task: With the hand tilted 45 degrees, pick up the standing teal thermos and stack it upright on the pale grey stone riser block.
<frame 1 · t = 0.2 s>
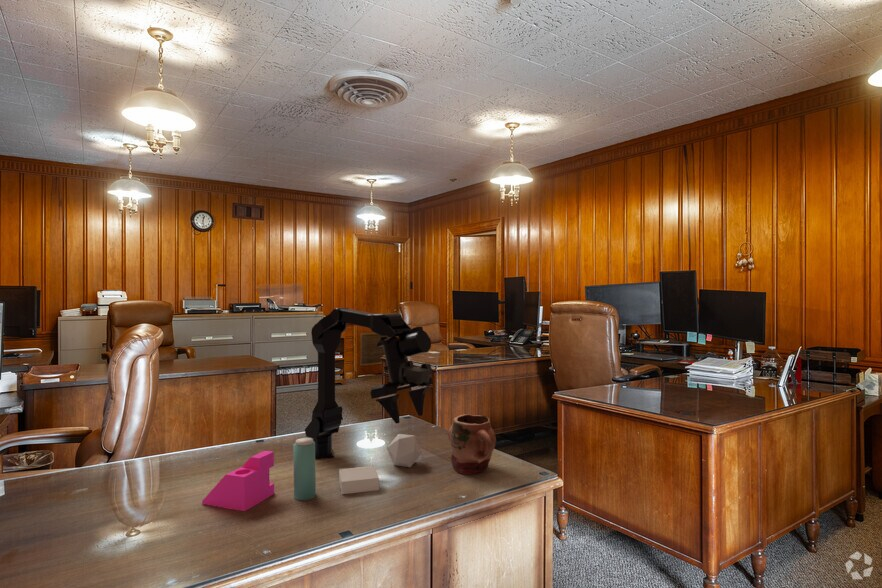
hand: (409, 419, 130), 15 cm above the table, tool pointing down, fingers open, 9 cm apart
die: (404, 465, 141), on the table
bracket: (239, 500, 119), on the table
riser: (358, 485, 126), on the table
thermos: (304, 496, 120), on the table
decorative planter: (473, 470, 136), on the table
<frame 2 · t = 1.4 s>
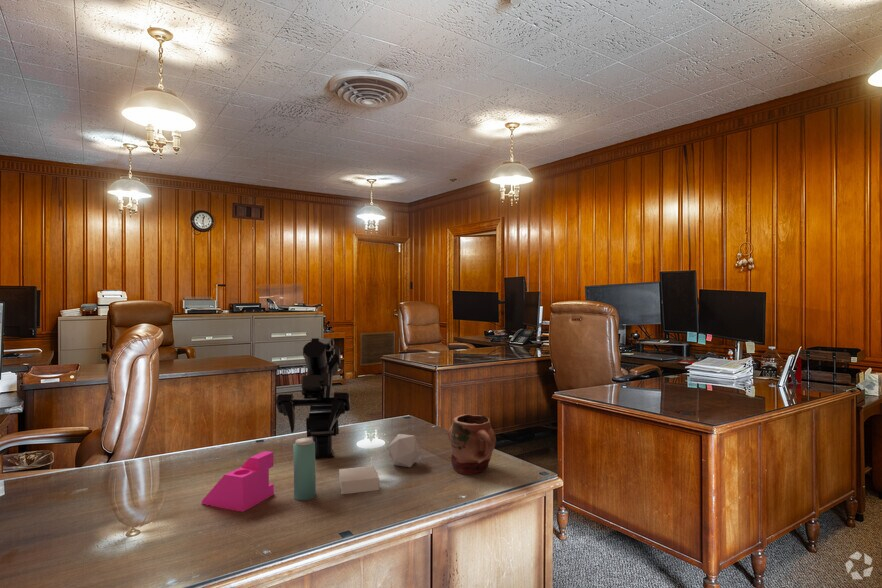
hand: (310, 431, 127), 13 cm above the table, tool tilted 45°, fingers open, 9 cm apart
nothing on the table moved.
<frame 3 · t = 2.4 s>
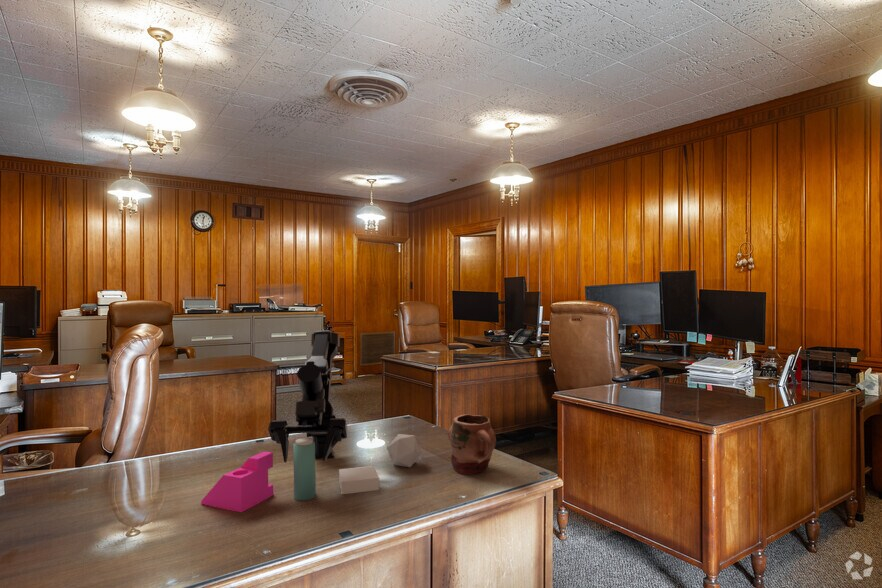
hand: (304, 461, 120), 8 cm above the table, tool tilted 45°, fingers open, 9 cm apart
nothing on the table moved.
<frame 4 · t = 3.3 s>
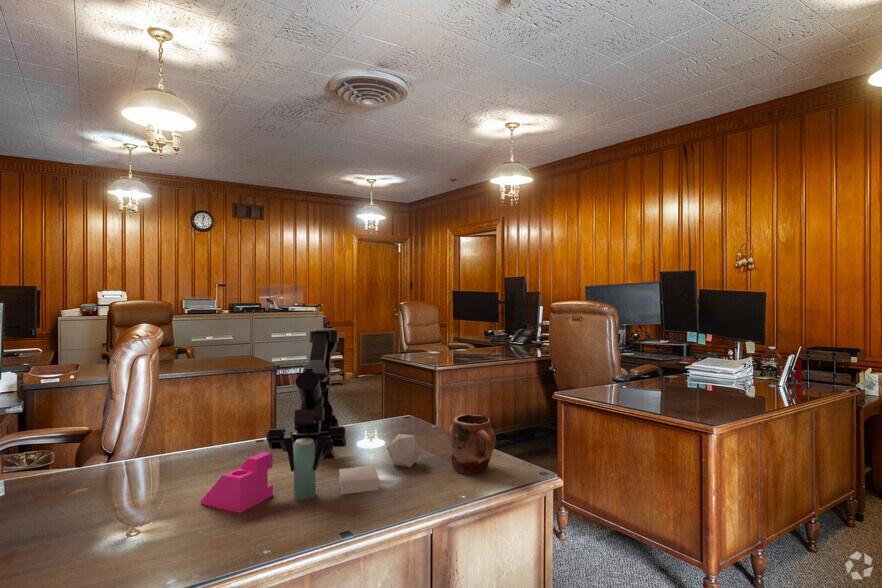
hand: (303, 470, 118), 7 cm above the table, tool tilted 45°, fingers closed on thermos, 5 cm apart
thermos: (304, 496, 120), on the table, touching gripper
everything else where it was.
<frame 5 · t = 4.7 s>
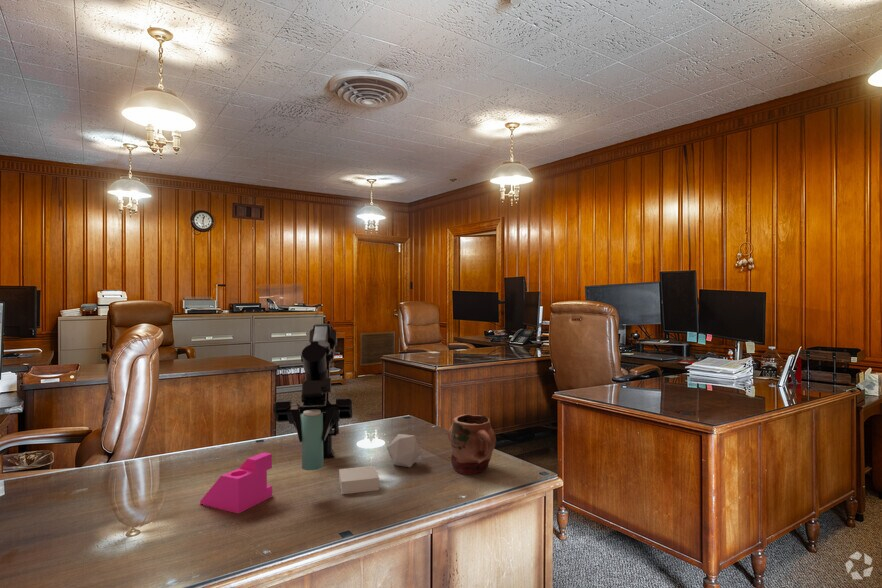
hand: (311, 440, 119), 13 cm above the table, tool tilted 45°, fingers closed on thermos, 5 cm apart
thermos: (312, 466, 121), point 7 cm above the table, touching gripper
everything else where it was.
when the fingers open (10 cm above the table, at t = 6.4 s): thermos stays where it is, resting on riser.
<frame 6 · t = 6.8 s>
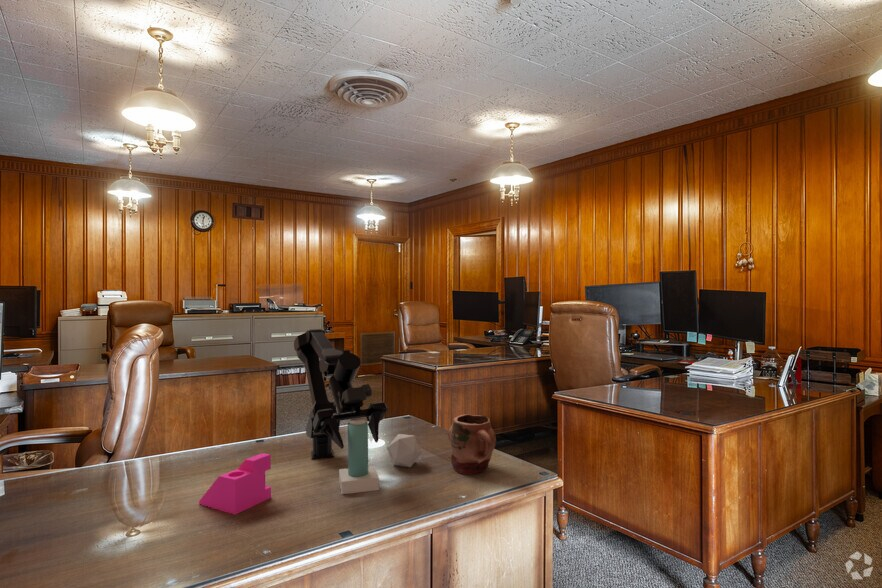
hand: (360, 444, 125), 11 cm above the table, tool tilted 45°, fingers open, 9 cm apart
thermos: (358, 473, 126), point 3 cm above the table, touching riser
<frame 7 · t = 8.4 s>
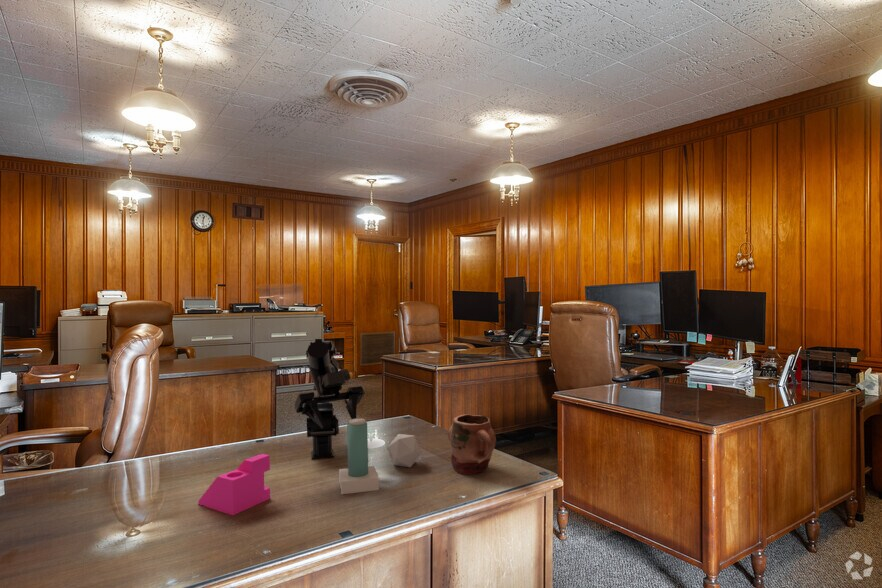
hand: (339, 424, 135), 13 cm above the table, tool tilted 45°, fingers open, 9 cm apart
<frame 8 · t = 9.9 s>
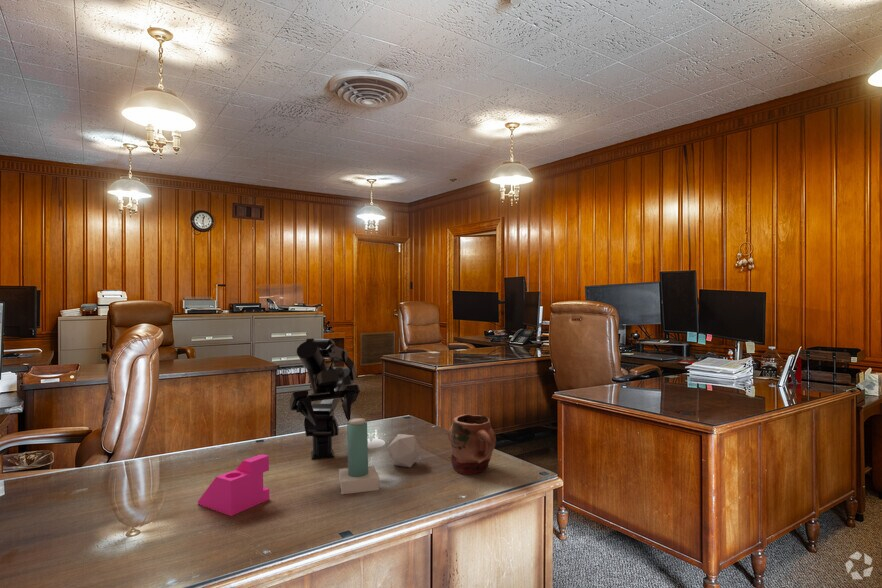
hand: (333, 422, 135), 14 cm above the table, tool tilted 45°, fingers open, 9 cm apart
at the end: thermos inside the target area on the riser (0.1 cm from its centre), point 3.0 cm above the riser's base; thermos tilted 1°; the gripper is holding nothing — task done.
